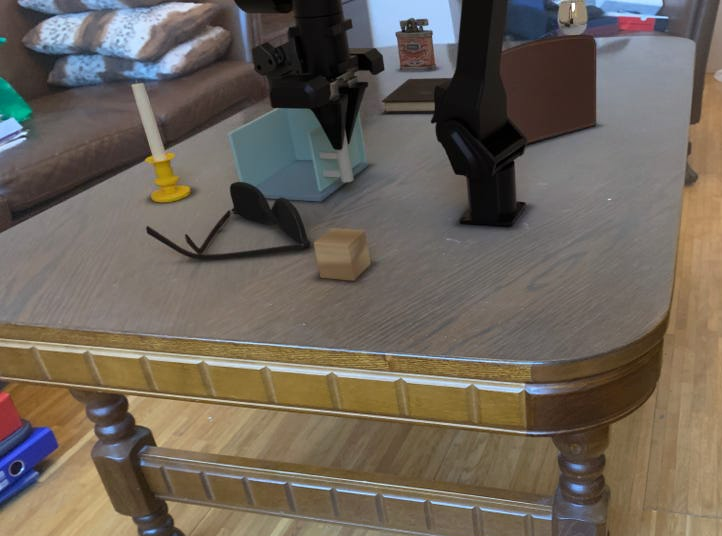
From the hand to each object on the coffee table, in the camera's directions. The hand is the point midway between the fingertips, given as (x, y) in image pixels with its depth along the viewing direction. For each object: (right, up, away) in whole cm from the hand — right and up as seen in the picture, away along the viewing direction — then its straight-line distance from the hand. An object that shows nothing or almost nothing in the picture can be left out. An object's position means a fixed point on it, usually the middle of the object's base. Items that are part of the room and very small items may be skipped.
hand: (341, 146), depth 97 cm
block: (+3, -18, -16) cm, 24 cm away
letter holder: (+25, +8, +21) cm, 33 cm away
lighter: (+4, +34, +65) cm, 74 cm away
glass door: (0, -2, +7) cm, 7 cm away
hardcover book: (+14, +19, +41) cm, 47 cm away
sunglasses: (-12, -14, -8) cm, 20 cm away
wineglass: (+36, +32, +56) cm, 74 cm away
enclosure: (-7, -2, +10) cm, 12 cm away
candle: (-25, -4, +9) cm, 27 cm away
